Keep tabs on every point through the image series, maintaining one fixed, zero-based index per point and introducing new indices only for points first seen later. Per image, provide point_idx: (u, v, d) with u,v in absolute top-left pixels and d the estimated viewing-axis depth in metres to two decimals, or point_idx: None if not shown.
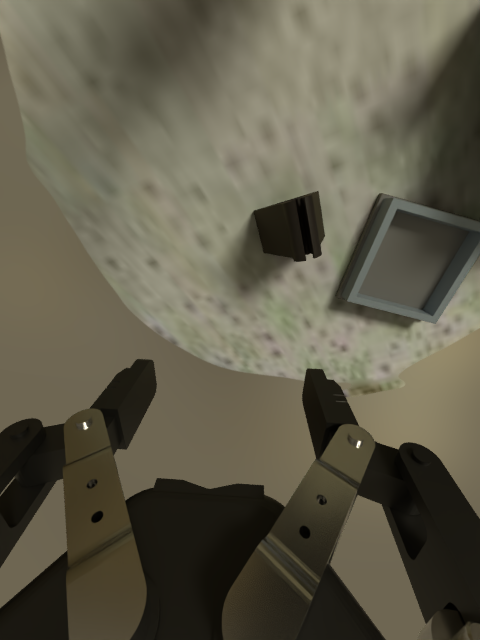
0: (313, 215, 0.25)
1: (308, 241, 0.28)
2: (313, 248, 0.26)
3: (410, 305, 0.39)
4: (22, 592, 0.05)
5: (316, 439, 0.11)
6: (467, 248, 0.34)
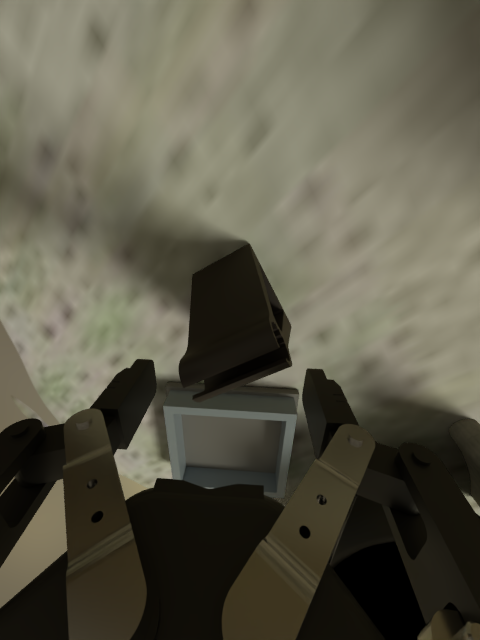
0: (260, 377, 0.14)
1: None
2: (207, 393, 0.15)
3: (186, 455, 0.33)
4: (22, 592, 0.05)
5: (316, 439, 0.11)
6: (258, 482, 0.33)
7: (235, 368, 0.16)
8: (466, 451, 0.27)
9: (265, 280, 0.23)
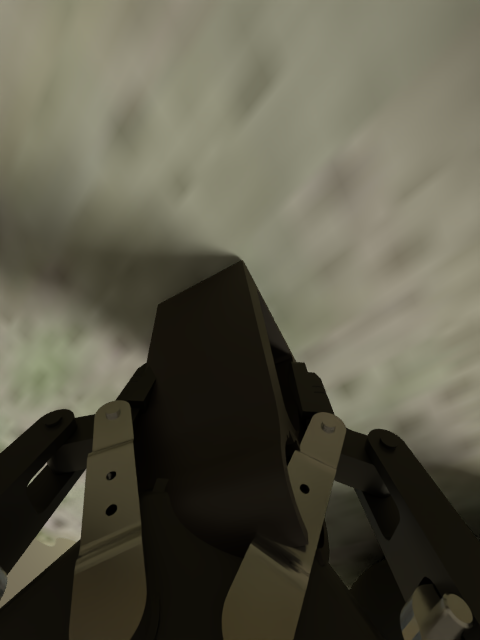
0: None
1: None
2: None
3: None
4: (22, 592, 0.05)
5: None
6: None
7: None
8: None
9: (266, 313, 0.16)
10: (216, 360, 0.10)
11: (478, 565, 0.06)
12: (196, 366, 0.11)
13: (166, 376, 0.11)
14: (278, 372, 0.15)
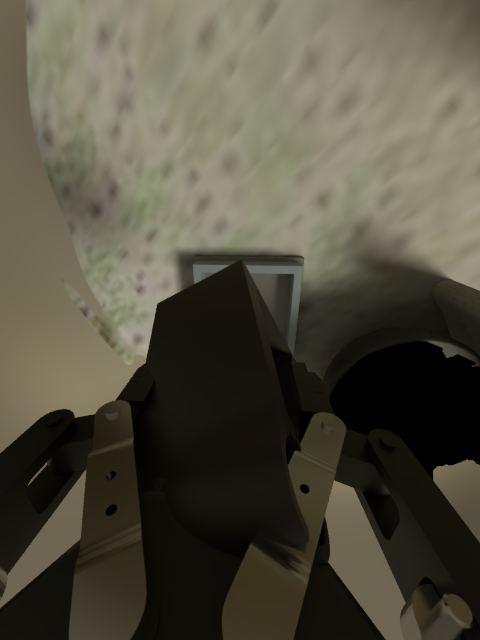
0: None
1: None
2: None
3: None
4: (22, 592, 0.05)
5: None
6: None
7: None
8: (444, 300, 0.33)
9: (265, 312, 0.16)
10: (216, 359, 0.10)
11: (478, 565, 0.06)
12: (196, 365, 0.11)
13: (166, 375, 0.11)
14: (278, 371, 0.15)
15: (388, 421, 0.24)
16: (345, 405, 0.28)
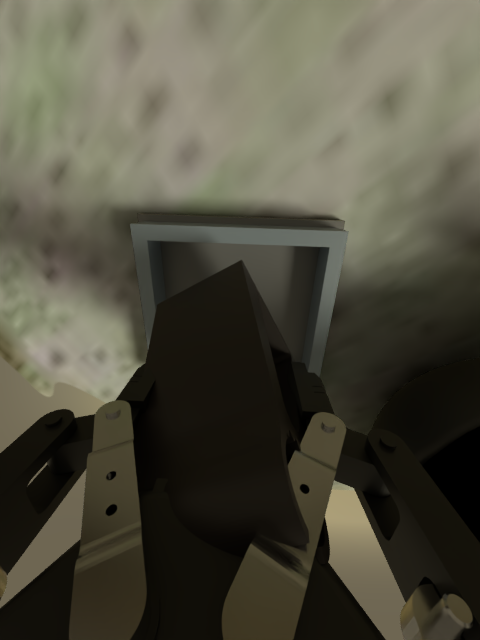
0: None
1: None
2: None
3: None
4: (22, 592, 0.05)
5: None
6: None
7: None
8: None
9: (265, 313, 0.16)
10: (216, 360, 0.10)
11: (478, 565, 0.06)
12: (196, 366, 0.11)
13: (165, 376, 0.11)
14: (277, 372, 0.15)
15: None
16: None
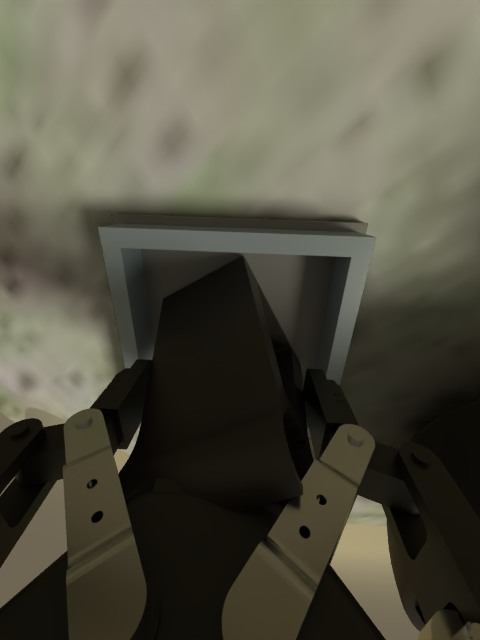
0: None
1: None
2: None
3: None
4: (22, 592, 0.05)
5: (316, 439, 0.11)
6: None
7: None
8: None
9: (266, 306, 0.17)
10: (220, 346, 0.11)
11: None
12: (201, 352, 0.11)
13: (173, 362, 0.12)
14: (277, 362, 0.16)
15: None
16: None
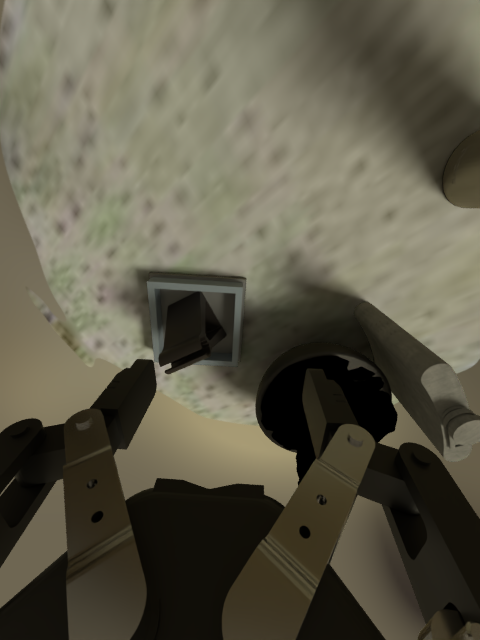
0: (195, 362, 0.32)
1: None
2: (171, 369, 0.32)
3: None
4: (22, 592, 0.05)
5: (316, 439, 0.11)
6: (219, 357, 0.43)
7: (186, 358, 0.34)
8: (361, 320, 0.40)
9: (210, 309, 0.41)
10: (188, 322, 0.35)
11: None
12: (182, 324, 0.36)
13: (173, 328, 0.36)
14: (214, 332, 0.40)
15: (295, 420, 0.30)
16: (270, 407, 0.34)
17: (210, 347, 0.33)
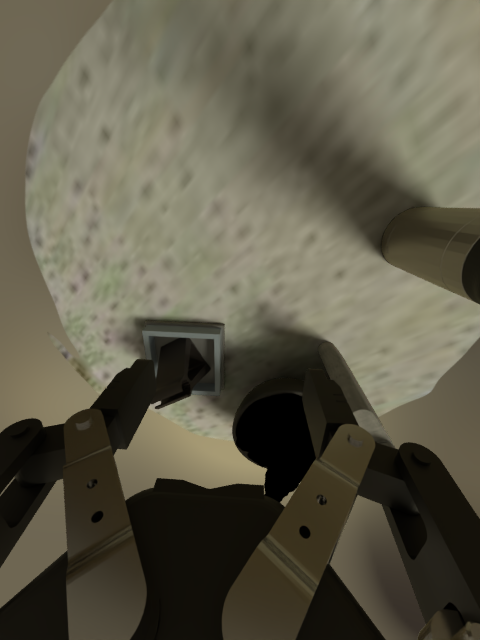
0: (178, 400, 0.40)
1: None
2: (160, 406, 0.40)
3: None
4: (22, 592, 0.05)
5: (316, 439, 0.11)
6: (205, 387, 0.52)
7: (172, 395, 0.42)
8: (321, 358, 0.47)
9: (195, 349, 0.49)
10: (174, 365, 0.44)
11: None
12: (170, 366, 0.44)
13: (163, 369, 0.44)
14: (198, 368, 0.49)
15: (256, 448, 0.37)
16: (240, 434, 0.42)
17: (191, 387, 0.42)
